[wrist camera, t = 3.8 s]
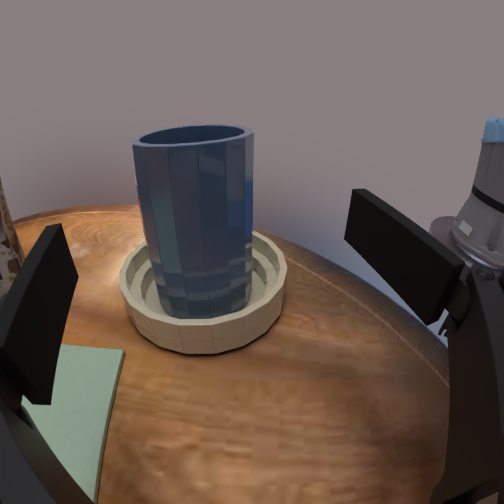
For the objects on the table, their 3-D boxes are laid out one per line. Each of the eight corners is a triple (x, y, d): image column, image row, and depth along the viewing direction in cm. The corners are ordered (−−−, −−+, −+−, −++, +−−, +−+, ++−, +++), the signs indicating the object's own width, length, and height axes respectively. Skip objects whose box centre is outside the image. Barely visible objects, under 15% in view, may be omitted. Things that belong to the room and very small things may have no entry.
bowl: (272, 250, 33) (274, 222, 31) (296, 352, 21) (302, 320, 19) (147, 253, 32) (141, 226, 30) (112, 353, 20) (97, 322, 18)
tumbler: (248, 263, 30) (249, 122, 22) (254, 324, 23) (258, 142, 15) (166, 265, 29) (148, 128, 22) (151, 325, 22) (112, 152, 15)
